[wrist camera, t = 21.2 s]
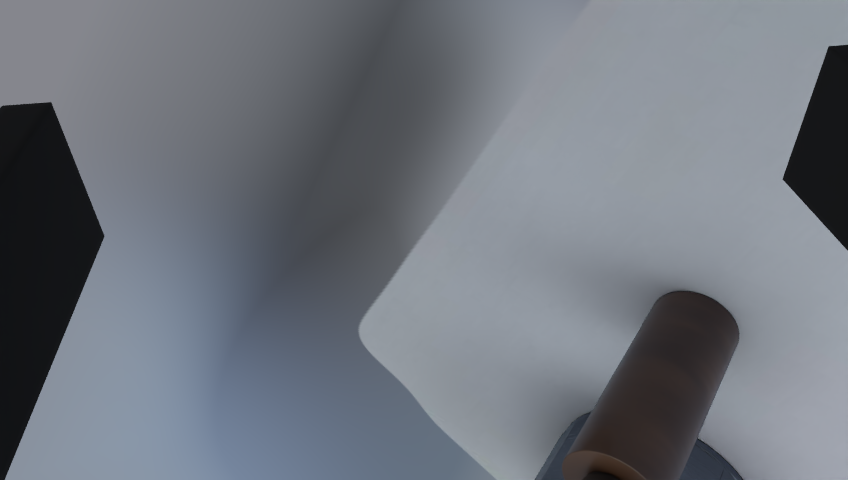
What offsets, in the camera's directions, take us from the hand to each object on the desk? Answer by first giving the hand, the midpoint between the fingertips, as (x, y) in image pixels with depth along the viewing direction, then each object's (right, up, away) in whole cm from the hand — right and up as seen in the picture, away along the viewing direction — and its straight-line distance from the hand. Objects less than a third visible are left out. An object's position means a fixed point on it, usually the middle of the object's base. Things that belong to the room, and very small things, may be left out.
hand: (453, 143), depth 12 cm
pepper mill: (+15, -7, +27) cm, 31 cm away
